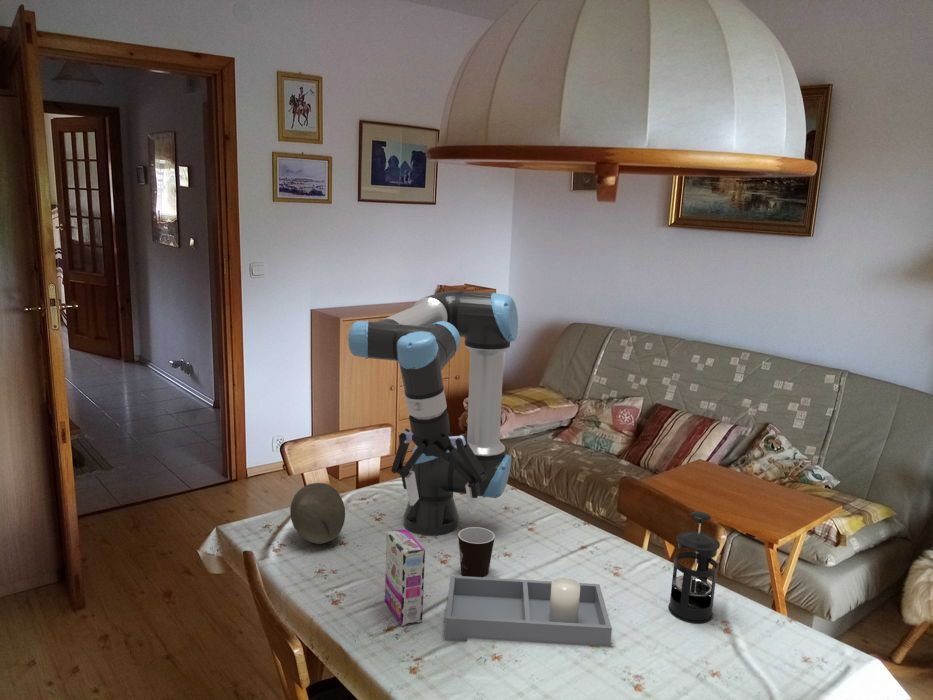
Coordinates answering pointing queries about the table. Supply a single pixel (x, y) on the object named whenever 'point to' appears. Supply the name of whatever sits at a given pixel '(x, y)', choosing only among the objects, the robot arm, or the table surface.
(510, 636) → the grey divided tray
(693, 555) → the french press
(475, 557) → the coffee mug
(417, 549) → the candy bar box
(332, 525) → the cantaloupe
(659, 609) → the table surface
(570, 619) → the cream cylinder
